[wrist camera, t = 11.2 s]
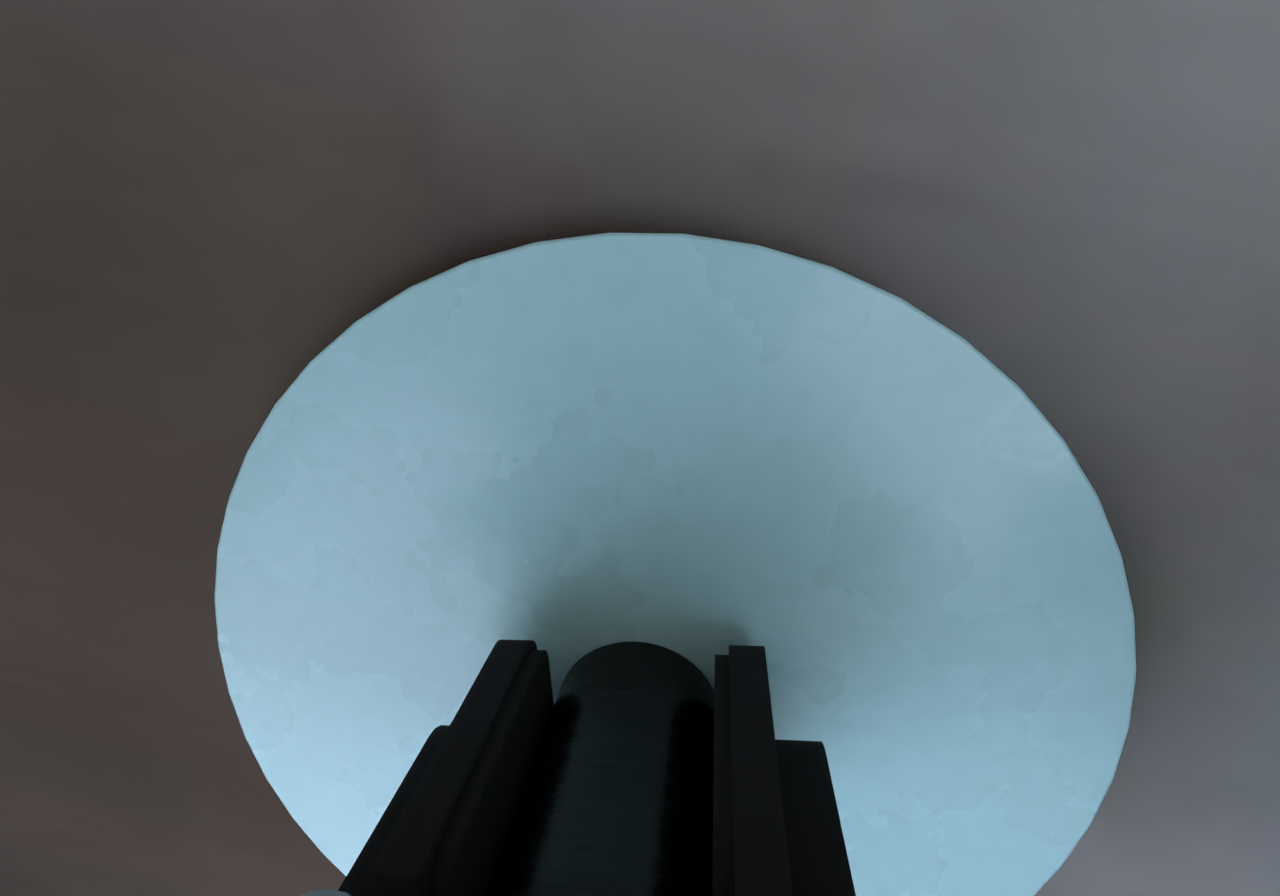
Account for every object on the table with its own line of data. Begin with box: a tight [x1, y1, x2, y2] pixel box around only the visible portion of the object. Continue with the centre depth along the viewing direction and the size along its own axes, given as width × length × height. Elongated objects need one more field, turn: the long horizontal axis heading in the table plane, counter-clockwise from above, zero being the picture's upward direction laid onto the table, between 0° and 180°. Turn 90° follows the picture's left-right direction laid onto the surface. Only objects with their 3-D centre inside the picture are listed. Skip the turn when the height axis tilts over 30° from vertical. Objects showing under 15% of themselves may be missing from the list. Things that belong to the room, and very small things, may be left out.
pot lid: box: [214, 233, 1136, 896], centre depth 8 cm, size 15×15×6 cm
